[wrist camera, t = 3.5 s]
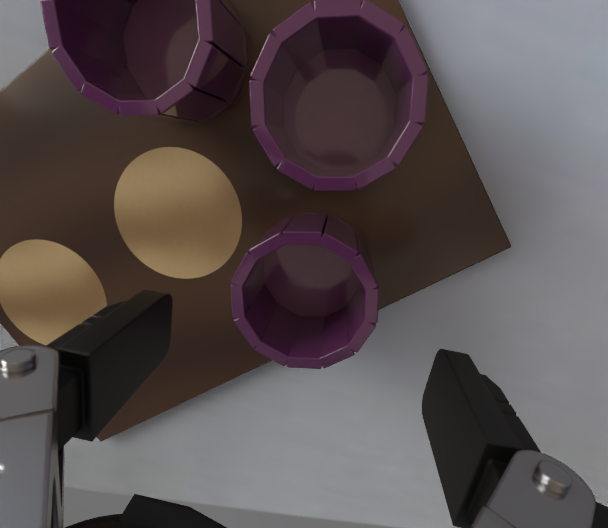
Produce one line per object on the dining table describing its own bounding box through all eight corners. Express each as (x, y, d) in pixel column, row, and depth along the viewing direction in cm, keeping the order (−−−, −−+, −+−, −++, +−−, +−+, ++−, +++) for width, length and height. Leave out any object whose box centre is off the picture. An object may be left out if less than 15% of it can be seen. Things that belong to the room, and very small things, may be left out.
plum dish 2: (250, 90, 16) (216, 69, 12) (366, 9, 14) (374, -47, 10) (315, 202, 17) (305, 220, 13) (428, 137, 16) (458, 133, 11)
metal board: (-101, 188, 20) (-114, 189, 19) (315, -171, 13) (313, -185, 13) (106, 434, 24) (100, 442, 23) (507, 243, 17) (512, 247, 17)
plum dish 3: (235, 246, 18) (202, 276, 14) (334, 189, 17) (331, 202, 13) (293, 336, 19) (279, 389, 15) (390, 289, 18) (404, 332, 14)
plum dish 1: (96, 30, 16) (6, -12, 12) (197, -57, 14) (138, -140, 10) (171, 148, 17) (115, 148, 13) (272, 77, 16) (246, 51, 11)
